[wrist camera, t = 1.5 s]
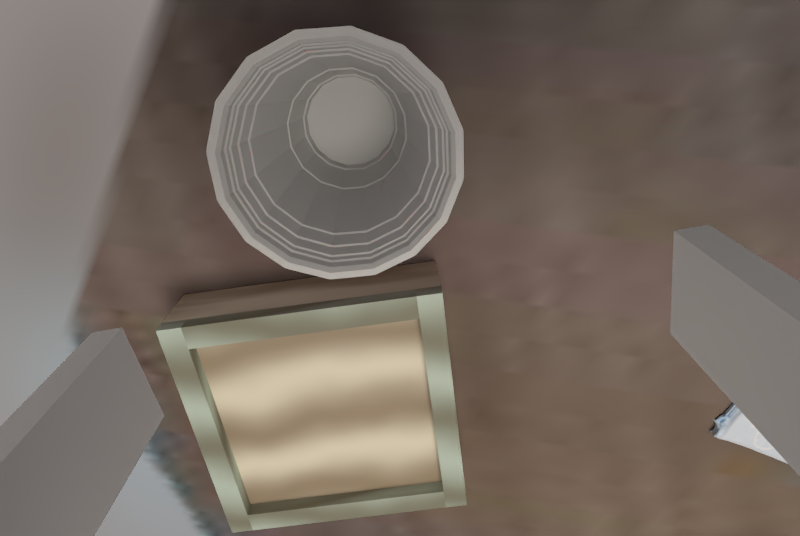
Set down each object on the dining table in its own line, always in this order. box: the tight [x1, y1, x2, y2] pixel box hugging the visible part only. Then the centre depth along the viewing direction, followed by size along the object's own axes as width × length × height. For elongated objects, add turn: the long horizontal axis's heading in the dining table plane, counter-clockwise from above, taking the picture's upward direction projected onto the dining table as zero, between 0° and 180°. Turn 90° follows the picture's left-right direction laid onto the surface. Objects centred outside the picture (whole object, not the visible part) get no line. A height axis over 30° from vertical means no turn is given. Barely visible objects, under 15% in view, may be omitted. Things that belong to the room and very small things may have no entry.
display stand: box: [156, 261, 467, 533], centre depth 38 cm, size 18×18×5 cm
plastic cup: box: [206, 26, 464, 280], centre depth 27 cm, size 11×11×12 cm
